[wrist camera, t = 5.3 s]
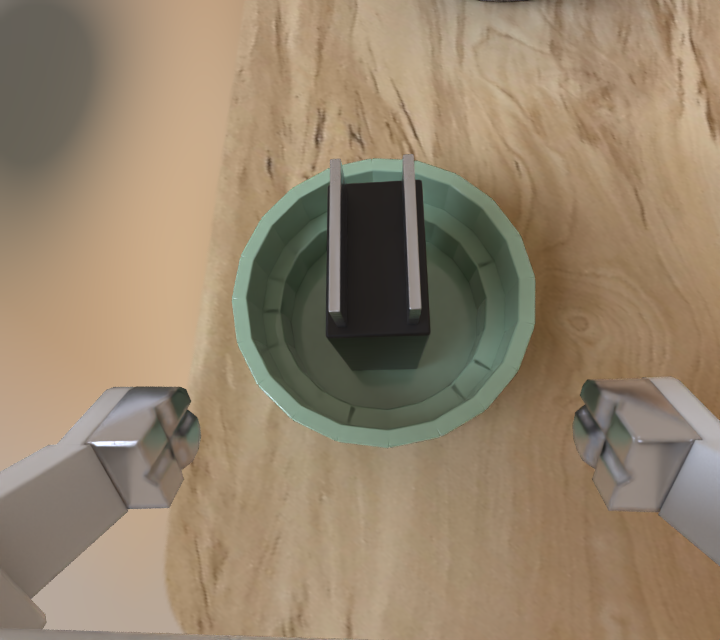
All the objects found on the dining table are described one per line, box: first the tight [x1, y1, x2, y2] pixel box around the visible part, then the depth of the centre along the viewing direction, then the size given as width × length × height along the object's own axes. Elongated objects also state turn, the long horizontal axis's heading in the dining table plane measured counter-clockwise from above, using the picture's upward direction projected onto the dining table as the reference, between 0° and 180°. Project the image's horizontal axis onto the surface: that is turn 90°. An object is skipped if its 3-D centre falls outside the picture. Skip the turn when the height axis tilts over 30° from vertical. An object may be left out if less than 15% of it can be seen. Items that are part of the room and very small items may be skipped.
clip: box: [326, 154, 431, 370], centre depth 15 cm, size 5×3×9 cm, turn 1°
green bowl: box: [232, 158, 535, 448], centre depth 17 cm, size 11×11×4 cm
